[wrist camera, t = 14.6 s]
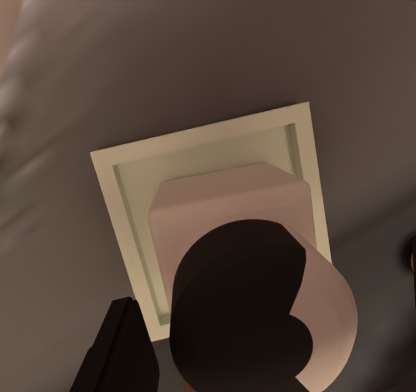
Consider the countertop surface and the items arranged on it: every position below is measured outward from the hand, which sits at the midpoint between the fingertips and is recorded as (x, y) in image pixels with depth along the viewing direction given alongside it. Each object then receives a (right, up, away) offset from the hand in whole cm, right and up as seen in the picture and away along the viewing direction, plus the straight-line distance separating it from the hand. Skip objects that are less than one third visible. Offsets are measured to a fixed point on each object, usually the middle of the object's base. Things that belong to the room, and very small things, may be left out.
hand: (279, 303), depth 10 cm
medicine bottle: (-1, +2, +11) cm, 11 cm away
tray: (-2, +2, +11) cm, 11 cm away
